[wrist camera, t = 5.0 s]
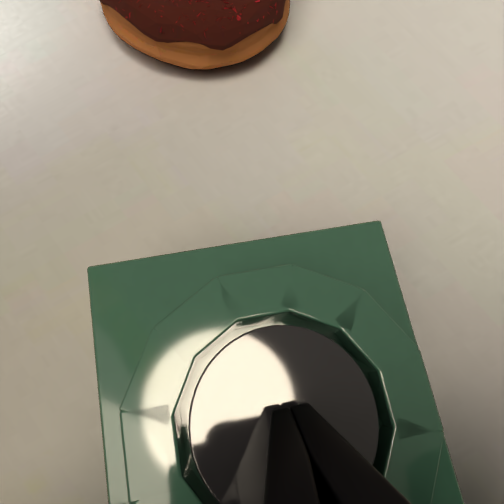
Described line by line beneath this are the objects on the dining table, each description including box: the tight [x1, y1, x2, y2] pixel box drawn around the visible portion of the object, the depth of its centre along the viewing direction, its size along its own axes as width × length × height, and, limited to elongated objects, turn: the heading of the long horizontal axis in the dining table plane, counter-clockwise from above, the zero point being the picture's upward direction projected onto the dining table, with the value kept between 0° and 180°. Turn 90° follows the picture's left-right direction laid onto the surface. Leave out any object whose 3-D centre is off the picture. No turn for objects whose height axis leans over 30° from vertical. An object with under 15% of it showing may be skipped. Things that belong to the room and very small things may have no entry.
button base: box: [87, 221, 464, 504], centre depth 14 cm, size 10×9×8 cm
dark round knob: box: [188, 325, 379, 504], centre depth 11 cm, size 4×4×2 cm
